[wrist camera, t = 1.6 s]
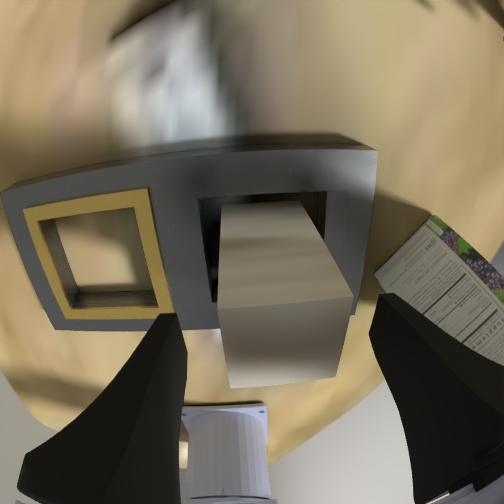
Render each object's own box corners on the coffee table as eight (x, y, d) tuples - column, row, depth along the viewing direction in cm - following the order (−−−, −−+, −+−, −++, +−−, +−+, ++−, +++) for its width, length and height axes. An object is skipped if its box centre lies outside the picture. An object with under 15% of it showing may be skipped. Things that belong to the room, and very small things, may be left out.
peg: (297, 265, 18) (335, 376, 11) (228, 270, 17) (230, 388, 10) (299, 200, 16) (353, 296, 9) (221, 205, 15) (217, 308, 8)
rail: (347, 300, 19) (355, 316, 18) (62, 315, 18) (53, 331, 17) (365, 144, 14) (379, 151, 13) (14, 183, 13) (-3, 194, 12)
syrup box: (461, 259, 18) (577, 405, 6) (406, 312, 20) (494, 477, 8) (432, 211, 16) (595, 384, 4) (367, 275, 18) (478, 488, 6)
